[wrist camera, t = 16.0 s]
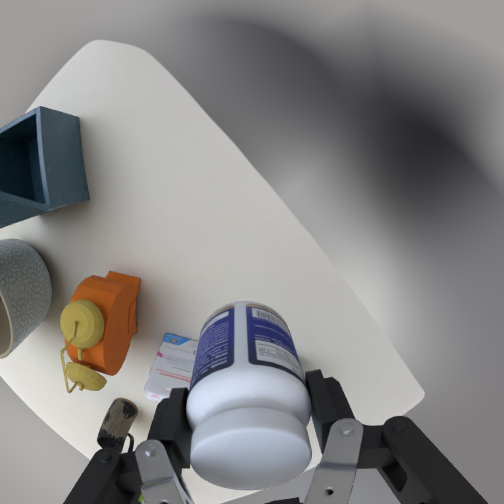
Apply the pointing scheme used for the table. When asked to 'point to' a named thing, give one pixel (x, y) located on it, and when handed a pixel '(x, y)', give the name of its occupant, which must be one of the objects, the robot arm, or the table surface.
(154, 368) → the ink box
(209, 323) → the pill bottle
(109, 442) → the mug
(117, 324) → the alarm clock
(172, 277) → the table surface
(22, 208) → the lid
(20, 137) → the chest
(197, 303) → the table surface
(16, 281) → the planter
